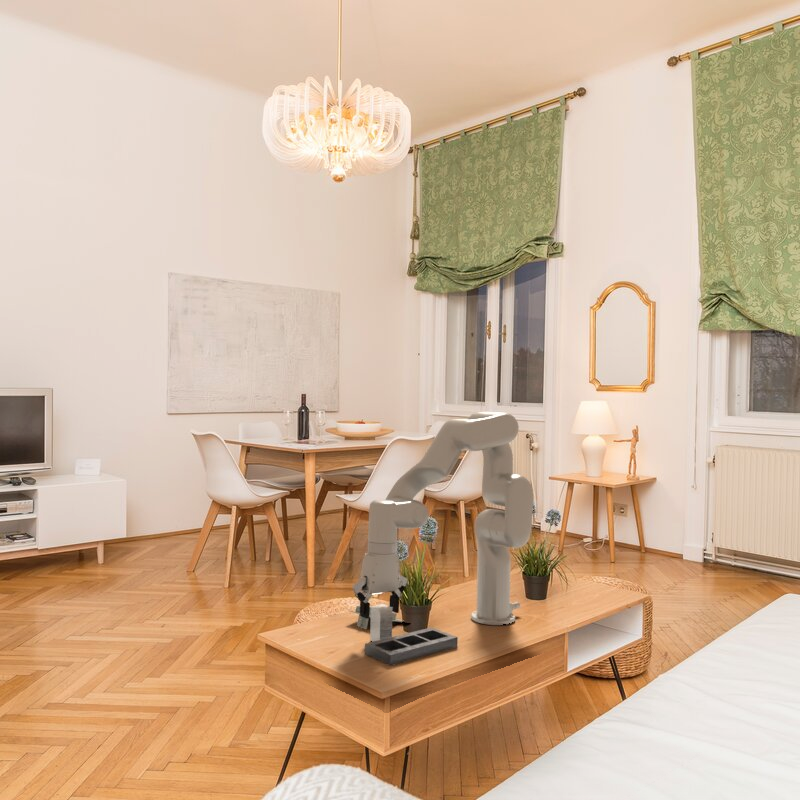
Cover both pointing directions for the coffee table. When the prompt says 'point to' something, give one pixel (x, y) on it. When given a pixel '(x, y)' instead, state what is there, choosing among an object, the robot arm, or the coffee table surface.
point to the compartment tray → (404, 648)
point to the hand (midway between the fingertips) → (379, 614)
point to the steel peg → (381, 622)
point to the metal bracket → (364, 621)
